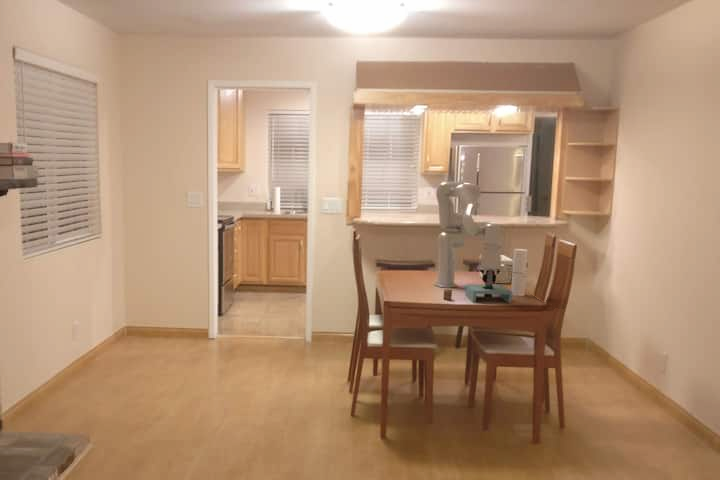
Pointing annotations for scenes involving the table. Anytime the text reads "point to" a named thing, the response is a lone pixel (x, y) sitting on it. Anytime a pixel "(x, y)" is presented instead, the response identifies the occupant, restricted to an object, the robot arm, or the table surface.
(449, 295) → the short pin
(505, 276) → the storage basket
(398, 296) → the table surface
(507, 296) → the bridge
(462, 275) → the table surface
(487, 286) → the long pin
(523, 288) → the cylindrical container
